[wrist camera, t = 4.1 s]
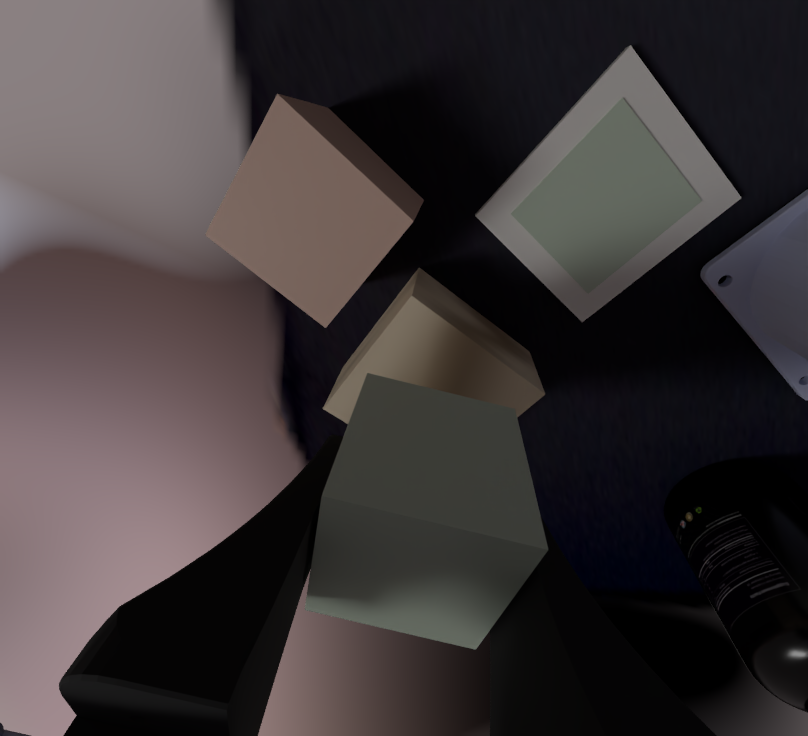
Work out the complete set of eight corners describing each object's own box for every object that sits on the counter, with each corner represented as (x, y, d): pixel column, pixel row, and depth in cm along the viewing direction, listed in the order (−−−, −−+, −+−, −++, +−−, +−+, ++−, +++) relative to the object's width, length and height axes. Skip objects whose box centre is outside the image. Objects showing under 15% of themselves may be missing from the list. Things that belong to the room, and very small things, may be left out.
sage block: (515, 408, 12) (548, 549, 8) (469, 505, 15) (475, 649, 11) (367, 372, 12) (321, 495, 8) (347, 475, 15) (304, 610, 11)
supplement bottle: (822, 473, 21) (1184, 797, 10) (737, 544, 24) (944, 836, 14) (703, 444, 20) (953, 742, 10) (636, 519, 24) (771, 796, 14)
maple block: (528, 349, 19) (545, 394, 16) (442, 429, 22) (440, 480, 19) (419, 265, 17) (411, 295, 14) (344, 365, 21) (322, 408, 17)
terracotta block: (424, 200, 16) (413, 221, 12) (355, 284, 18) (325, 327, 14) (328, 107, 14) (277, 93, 10) (267, 211, 17) (204, 234, 13)
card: (734, 196, 14) (743, 198, 14) (579, 318, 18) (583, 323, 17) (626, 47, 13) (631, 44, 12) (475, 214, 16) (475, 216, 15)
